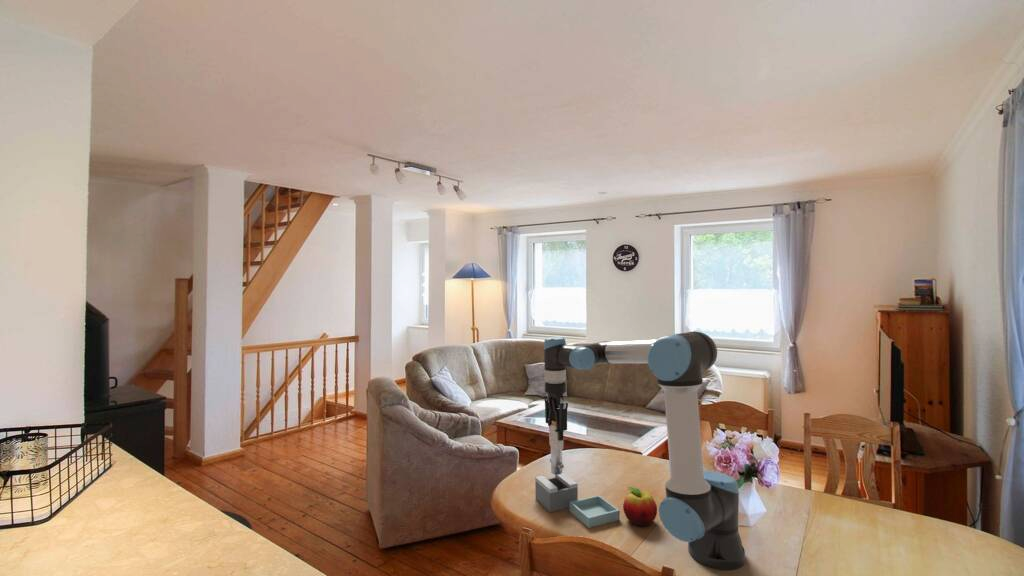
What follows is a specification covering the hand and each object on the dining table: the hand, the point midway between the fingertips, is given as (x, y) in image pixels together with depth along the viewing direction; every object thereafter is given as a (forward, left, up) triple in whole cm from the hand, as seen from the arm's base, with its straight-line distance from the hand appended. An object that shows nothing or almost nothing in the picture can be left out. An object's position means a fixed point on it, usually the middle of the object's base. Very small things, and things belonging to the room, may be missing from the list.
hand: (556, 446), depth 170 cm
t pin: (0, 0, -9) cm, 9 cm away
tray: (-13, -7, -20) cm, 25 cm away
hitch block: (0, 0, -20) cm, 20 cm away
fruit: (-23, -18, -20) cm, 36 cm away
